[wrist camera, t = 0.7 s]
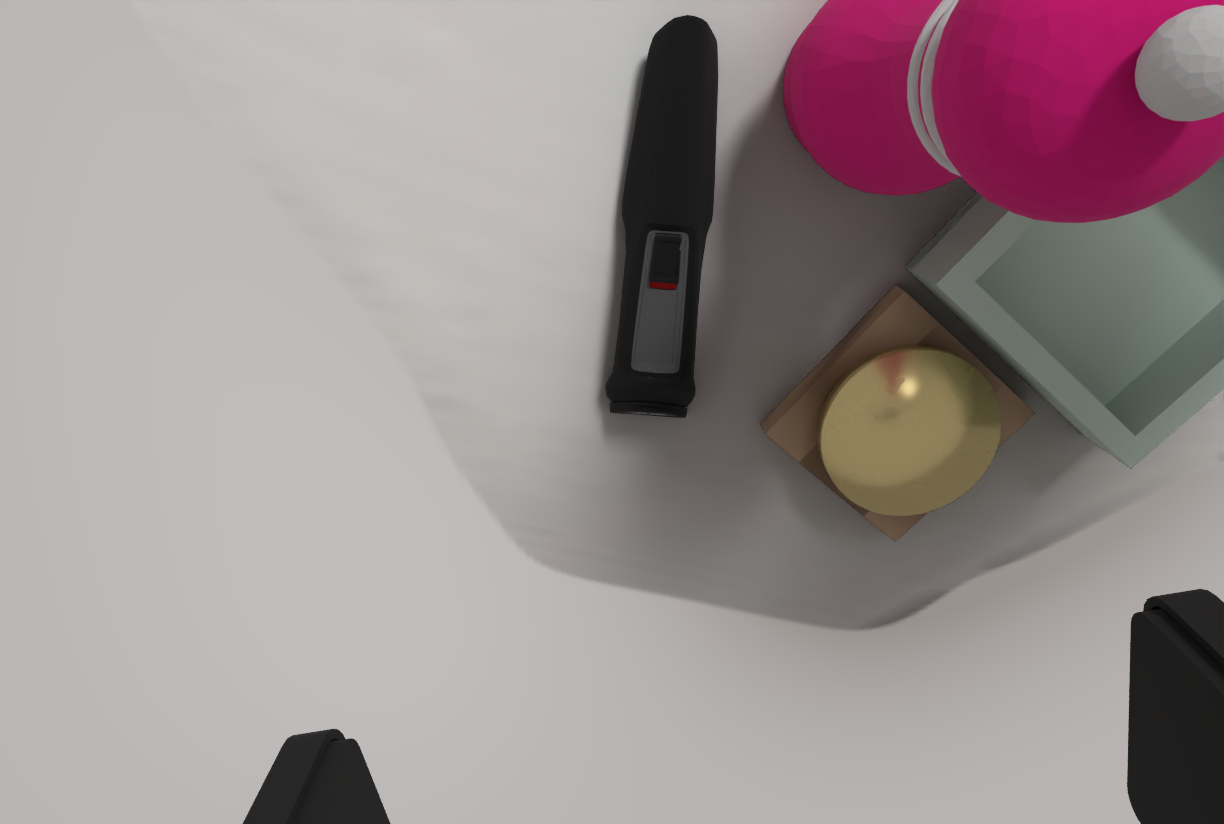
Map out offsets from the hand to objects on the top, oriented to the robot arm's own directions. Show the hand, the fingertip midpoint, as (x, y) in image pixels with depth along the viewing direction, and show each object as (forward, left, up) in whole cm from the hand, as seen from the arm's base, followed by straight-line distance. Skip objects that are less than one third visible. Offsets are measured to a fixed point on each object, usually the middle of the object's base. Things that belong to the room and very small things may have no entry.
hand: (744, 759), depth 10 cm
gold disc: (-3, +12, -26) cm, 29 cm away
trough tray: (-13, +13, -26) cm, 32 cm away
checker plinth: (-3, +12, -26) cm, 29 cm away
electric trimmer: (-2, -1, -27) cm, 27 cm away
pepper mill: (-11, +1, -26) cm, 29 cm away
